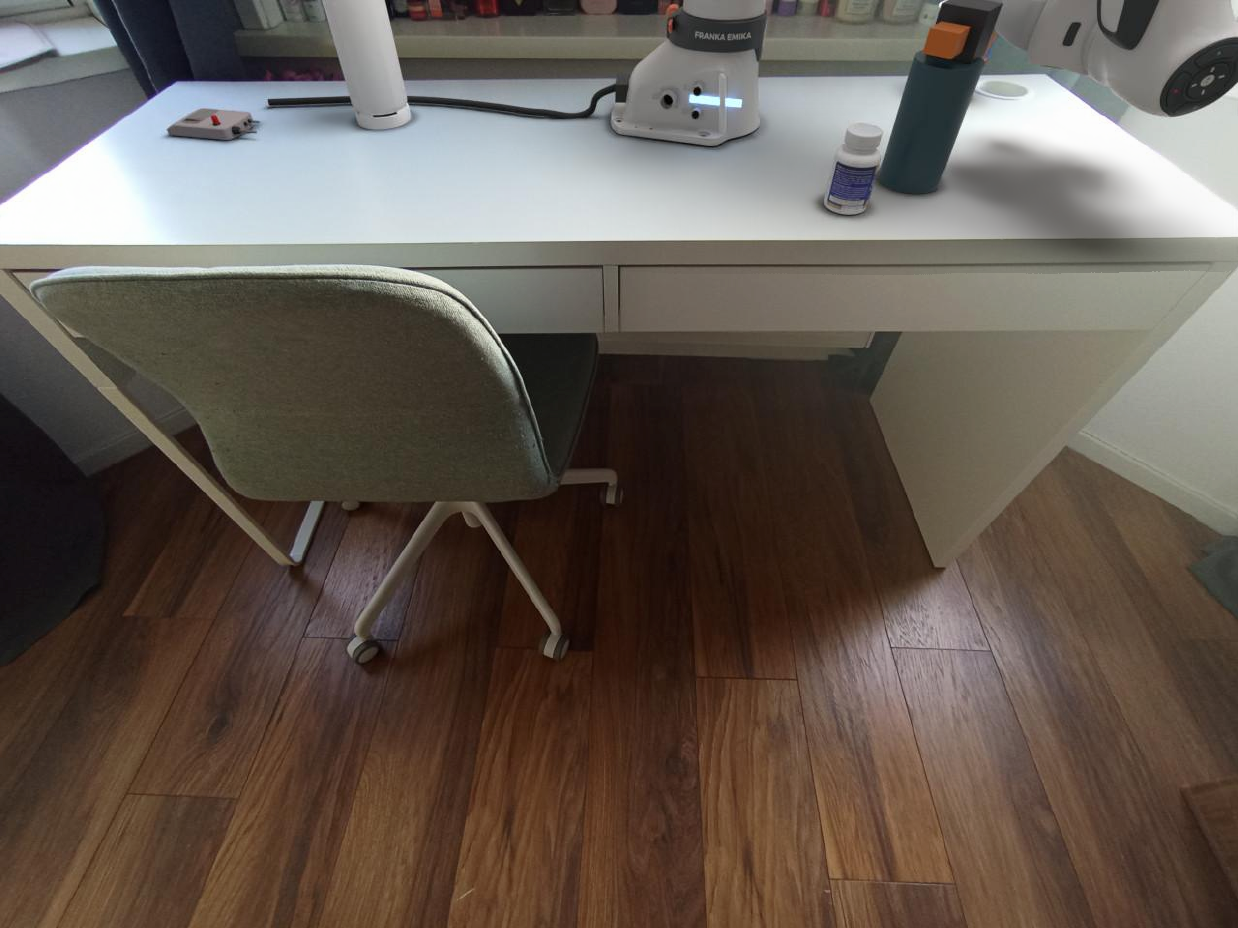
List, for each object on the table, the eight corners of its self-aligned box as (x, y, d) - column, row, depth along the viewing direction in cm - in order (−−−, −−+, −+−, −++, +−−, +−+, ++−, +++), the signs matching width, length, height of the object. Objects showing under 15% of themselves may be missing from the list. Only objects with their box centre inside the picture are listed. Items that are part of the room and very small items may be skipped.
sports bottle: (924, 200, 79) (990, 20, 65) (867, 182, 83) (919, 7, 68) (947, 179, 83) (1014, 5, 69) (892, 163, 86) (946, -7, 72)
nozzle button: (950, 59, 68) (959, 33, 66) (921, 53, 70) (929, 28, 68) (961, 52, 70) (970, 26, 68) (933, 46, 71) (941, 21, 69)
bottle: (346, 125, 96) (269, -127, 75) (378, 106, 101) (315, -135, 80) (390, 133, 94) (324, -124, 73) (421, 113, 99) (368, -132, 78)
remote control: (187, 118, 98) (177, 96, 96) (279, 125, 96) (271, 104, 93) (158, 135, 93) (147, 113, 91) (253, 143, 91) (244, 121, 89)
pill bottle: (872, 215, 77) (896, 138, 70) (830, 217, 76) (850, 140, 70) (858, 195, 80) (879, 120, 74) (817, 196, 80) (835, 121, 73)
